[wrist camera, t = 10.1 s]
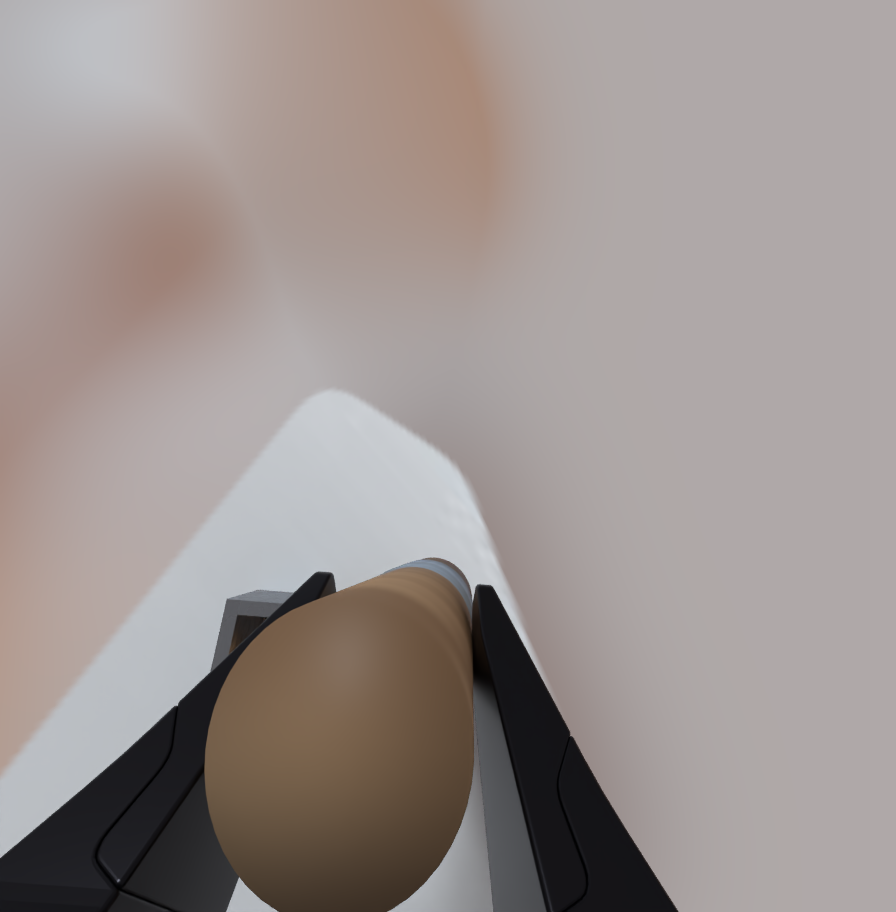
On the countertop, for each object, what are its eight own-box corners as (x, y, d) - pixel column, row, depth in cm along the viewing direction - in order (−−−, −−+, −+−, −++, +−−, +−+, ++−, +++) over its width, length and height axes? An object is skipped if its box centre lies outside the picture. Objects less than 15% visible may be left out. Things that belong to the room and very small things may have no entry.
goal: (300, 737, 18) (274, 775, 15) (228, 732, 18) (188, 769, 15) (323, 595, 20) (303, 605, 17) (257, 590, 20) (227, 598, 17)
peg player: (471, 647, 14) (470, 955, 4) (388, 640, 15) (167, 904, 4) (474, 559, 15) (483, 603, 5) (396, 553, 16) (235, 583, 5)
